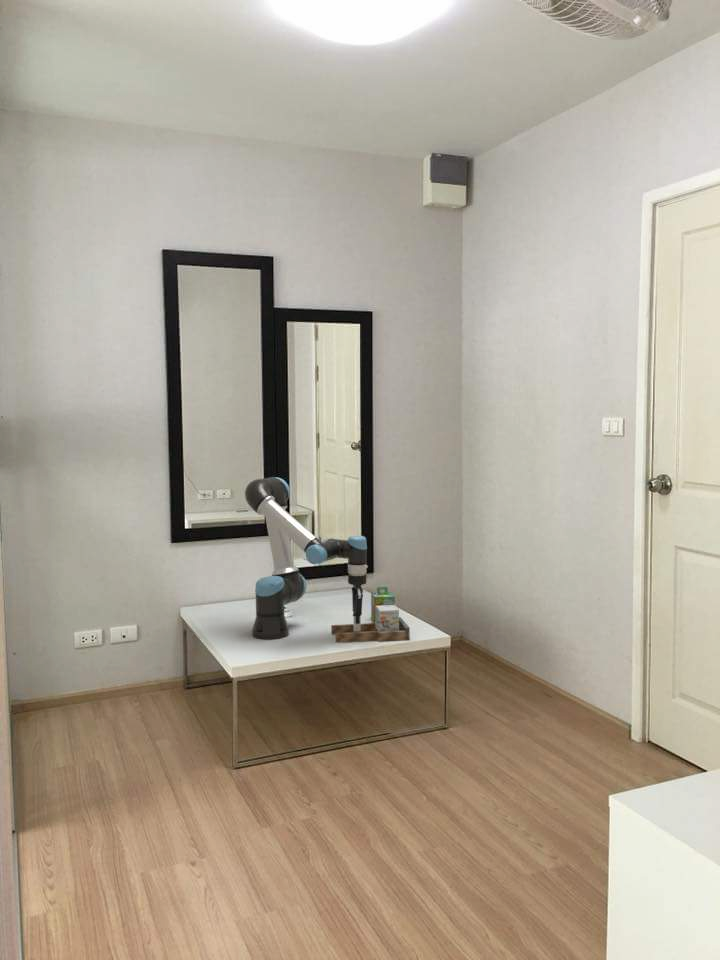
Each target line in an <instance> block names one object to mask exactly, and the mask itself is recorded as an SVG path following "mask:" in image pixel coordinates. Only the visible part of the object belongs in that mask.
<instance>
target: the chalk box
mask: <svg viewBox="0 0 720 960" xmlns="http://www.w3.org/2000/svg"><path fill="white" fill-rule="evenodd" d="M381 590H384V592H381ZM370 596H371V597H370V598H371V599H370V600H371V601H370V603H371V604H370V612H371V613H370V616H371V617H370V618H371V620H372V622H376V606H382V605H395V596H394V595H393V594H392V593H391V592H389V591H388V586H378V587H376V592H371V594H370Z"/></svg>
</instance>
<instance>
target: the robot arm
mask: <svg viewBox="0 0 720 960" xmlns="http://www.w3.org/2000/svg"><path fill="white" fill-rule="evenodd" d="M290 495H291V491H290V487H289V484H288V483H287V481H286V480H284V479H283V478H280V477H276V476H275V477H274V476H272V477H271V476H270V477H266V478H265V477H264V478H257V479H254V480H252V481H250V482H249V483H248V484H247V485H246V488H245V491H244V498H245V501H246V503H247V504H248V506H249V508H251V509H252V510H253V511H254V512H255V513H256V514H257V515H258V516H261V515H262V516H263V517H264V518H265V522H266V527H267V534H268V539H269V545H270V552H271V556H272V557H271V558H272V562H273V567H274V570H273V571H272V573H271V575H269V576H264V577H261V578H259V579H258V580H257V581H256V583H255V591H254V592H255V619H254V622H253V623H254V624H253V626H252V631H251V633H252V634H251V636H252V637H253V638H257V639H262V640H275V639H282V638H286V637H287V636H288V635H289V634H290V629H289V624H288V623H287V619H286V617H285V606H286V605H288V604H291V603H294V602H297V601H299V600H300V599H302V598H303V597H304V595H305V594H306V591H307V581H306V578H305V577H304V576H303V575H302V574H301V573H300V569H299V568H298V567H296V565H295V561H294V556H293V550H292V545H291V541H292V543H294V544H295V545H296V546H297V547H299V548H300V549H301V550H302V551H303V552H304V553H305V557H306V560H307V561H308V562H309V563H310V564H312V565H319V564H323V563H325V562H327V561H328V562H329V561H331V560H334V559H346V560H347V573H348V575H347V582H348V584H349V585H352V587H351V596H352V599H351V600H352V617H353V624H354V626H353V630H354V631H361V624H362V623H361V619H362V618H361V616H362V614H363V613H362V612H363V611H362V610H363V596H364V594H363V593H364V592H363V591H364V589H363V588H362V586H364V585H366V584H367V569H368V567H369V565H367V556H368V555H367V552H368V551H367V550H368V546H367V545H368V544H367V538H366V537H365V536H364V535H351V536H350V535H349V537H348V539H338V538H325V539H323V540H322V541H321V540H320V539H319V538H318V537H316V536H315V535H314V534H313V533H312V532H310V531H309V529H307V528H306V527H305V526H304V525H303V524H301V523H300V521H298V520H297V519H296V518H295V517H294V516H292V515H291V513H289V512H288V511H286V509H287V508H288V502H287V501H288V500H289V497H290ZM290 540H291V541H290Z"/></svg>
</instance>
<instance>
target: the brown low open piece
mask: <svg viewBox="0 0 720 960" xmlns="http://www.w3.org/2000/svg"><path fill="white" fill-rule="evenodd" d="M375 625H376V622H373V621H371V622H370V623H368V622H367V623H361V631H354V630H353V626H354V623H348V624H332V625H330V627H331V628H330V629H331V633H332V634H331V633H330V634H331V635H335V637H334V639H335V640H334V641H335V643H336V642H339V643H338V644H340V642H342V643H357V642H374V641H375V642H376V641H378V642H394V641H395V642H396V641H409V640H411V639H410V638H411V637H410V636H411V635H410V634H411V633H410V629H411V628H410V627H409V625H408V624H407V622H405V621H404V620H403V618H402V617H401V616H399V631H387V632H377V631H375Z"/></svg>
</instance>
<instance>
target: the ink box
mask: <svg viewBox="0 0 720 960" xmlns="http://www.w3.org/2000/svg"><path fill="white" fill-rule="evenodd" d="M399 617H400V609H399V608H398V607H397V605H395V604H394V605H382V606H376V625H375V631H377V632H387V631H399Z"/></svg>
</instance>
